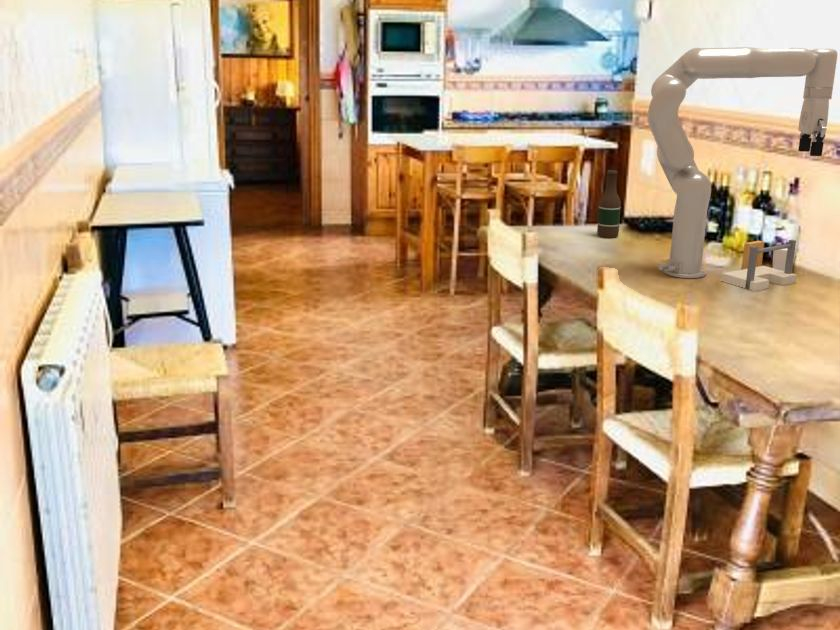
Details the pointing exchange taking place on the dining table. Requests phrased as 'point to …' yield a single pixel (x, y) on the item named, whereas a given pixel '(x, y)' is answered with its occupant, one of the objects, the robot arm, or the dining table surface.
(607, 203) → the beer bottle
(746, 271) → the hanging rack
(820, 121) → the robot arm
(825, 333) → the dining table surface
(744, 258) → the orange u-shaped block
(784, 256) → the beige cube
